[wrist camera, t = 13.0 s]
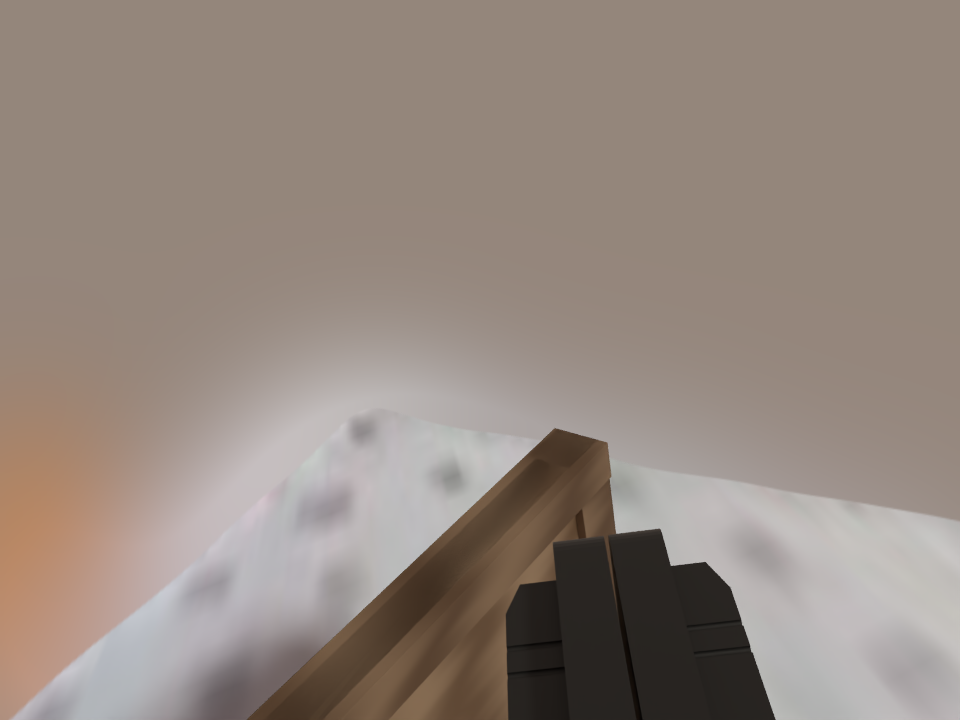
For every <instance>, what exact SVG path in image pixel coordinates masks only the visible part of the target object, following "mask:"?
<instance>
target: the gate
mask: <svg viewBox="0 0 960 720" xmlns="http://www.w3.org/2000/svg"><path fill="white" fill-rule="evenodd" d="M610 477H611V469H610V461H609V452H608V444H607V442H603V441H599V440H596V439H592V438H589V437H585V436H581V435H578V434H574V433H570V432H567V431H563V430H559V429H556V428H555V429H554V430H552V431H551V432H550V433H549V434H548V435H547V436H546V437H545V438H544V439H543V440H542V441H541V442H540V443H539V444H538V445H537V446H536V447H534V448H533V449H532V450H531V451H530V452H529V453H528V454H527V455H526V456H525V457H524V458H523V459H522V460H521V461H520V462H519V463H518V464H517V465H515V466H514V467H513V468H512V469H511V470H510V471H509V472H508V473H507V474H506V475H505V476H504V477H503V478H502V479H501V480H500V481H499V482H497V483H496V484H495V485H494V486H493V487H492V488H491V489H490V490H489V491H488V492H487V493H486V494H485V495H484V496H483V497H482V498H481V499H480V500H478V501H477V502H476V503H475V504H474V505H473V506H472V507H471V508H470V509H469V510H468V511H467V512H466V513H465V514H464V515H463V516H462V517H460V518H459V519H458V520H457V521H456V522H455V523H454V524H453V525H452V526H451V527H450V528H449V529H448V530H447V531H446V532H445V533H444V534H443V535H441V536H440V537H439V538H438V539H437V540H436V541H435V542H434V543H433V544H432V545H431V546H430V547H429V548H428V549H427V550H426V551H425V552H423V553H422V554H421V555H420V556H419V557H418V558H417V559H416V560H415V561H414V562H413V563H412V564H411V565H410V566H409V567H408V568H407V569H405V570H404V571H403V572H402V573H401V574H400V575H399V576H398V577H397V578H396V579H395V580H394V581H393V582H392V583H391V584H390V585H389V586H388V587H386V588H385V589H384V590H383V591H382V592H381V593H380V594H379V595H378V596H377V597H376V598H375V599H374V600H373V601H372V602H371V603H370V604H368V605H367V606H366V607H365V608H364V609H363V610H362V611H361V612H360V613H359V614H358V615H357V616H356V617H355V618H354V619H353V620H352V621H351V622H349V623H348V624H347V625H346V626H345V627H344V628H343V629H342V630H341V631H340V632H339V633H338V634H337V635H336V636H335V637H334V638H333V639H331V640H330V641H329V642H328V643H327V644H326V645H325V646H324V647H323V648H322V649H321V650H320V651H319V652H318V653H317V654H316V655H315V656H314V657H312V658H311V659H310V660H309V661H308V662H307V663H306V664H305V665H304V666H303V667H302V668H301V669H300V670H299V671H298V672H297V673H296V674H294V675H293V676H292V677H291V678H290V679H289V680H288V681H287V682H286V683H285V684H284V685H283V686H282V687H281V688H280V689H279V690H278V691H277V692H275V693H274V694H273V695H272V696H271V697H270V698H269V699H268V700H267V701H266V702H265V703H264V704H263V705H262V706H261V707H260V708H259V709H257V710H256V711H255V712H254V713H253V714H252V715H251V716H250V717H249V718H248V719H247V720H508V691H507V680H508V676H507V647H506V612H507V610H508V608H509V606H510V604H511V602H512V600H513V598H514V596H515V594H516V592H517V590H518V588H519V585H520V584H528V583H536V582H545V581H553V580H556V573H555V563H554V553H553V542H558V541H566V540H574V539H582V538H590V537H598V536H604V539H605V545H606V550H607V556H608V562H609V567H610V573H611V579H612V584H613V590H614V596H615V589H614V581H613V573H612V565H611V557H610V549H609V540H608V535H612V534H616V530H615V521H614V513H613V504H612V496H611V487H610V479H609V478H610ZM615 601H616V597H615ZM616 607H617V605H616Z"/></svg>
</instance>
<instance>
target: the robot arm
mask: <svg viewBox="0 0 960 720" xmlns="http://www.w3.org/2000/svg"><path fill="white" fill-rule="evenodd" d="M608 540H609V549H610V557H611V565H612V573H613V581H614V589H615V596H614V590H613V584H612V579H611V573H610V567H609V562H608V556H607V550H606V545H605V539H604V536H598V537H590V538H582V539H574V540H566V541H558V542H553V553H554V563H555V573H556V580H553V581H545V582H536V583H528V584H520V585H519V588H518V590H517V592H516V594H515V596H514V598H513V600H512V602H511V604H510V606H509V608H508V610H507V612H506V647H507V676H508V680H507V691H508V720H775V717H774V714H773V711H772V708H771V705H770V702H769V699H768V696H767V694H766V691H765V688H764V685H763V682H762V679H761V676H760V673H759V670H758V667H757V664H756V661H755V658H754V655H753V652H751V648H750V644H749V641H748V638H747V635H746V632H745V629H744V626H742V622H741V617H740V614H739V611H738V608H737V606H736V603H735V600H734V597H733V594H732V591H731V588H730V587H729V586H728V585H727V584H726V583H725V582H724V581H723V580H722V579H721V577H720V576H719V575H718V574H717V573H716V572H715V571H714V570H713V569H712V568H711V567H710V566H709V565H708V564H707V563H706V562H701V563H693V564H685V565H676V566H671V565H670V562H669V558H668V554H667V550H666V547H665V543H664V539H663V535H662V532H661V530H660V529H653V530H645V531H637V532H629V533H621V534H612V535H608ZM615 597H616V601H615ZM616 605H617V607H616Z"/></svg>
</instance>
